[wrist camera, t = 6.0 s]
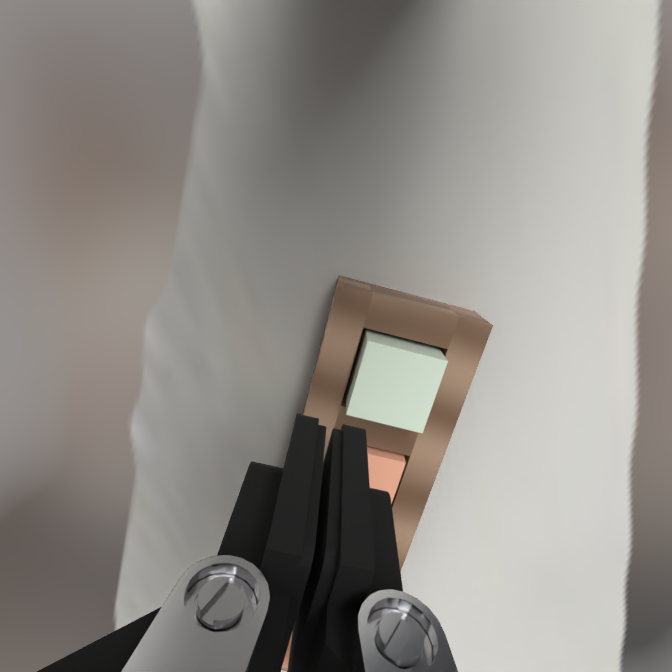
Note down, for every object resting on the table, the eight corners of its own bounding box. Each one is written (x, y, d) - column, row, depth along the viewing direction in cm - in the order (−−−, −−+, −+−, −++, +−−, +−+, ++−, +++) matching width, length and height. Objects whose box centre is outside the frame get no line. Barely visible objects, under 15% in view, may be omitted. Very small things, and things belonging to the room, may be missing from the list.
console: (339, 275, 30) (337, 286, 26) (474, 311, 31) (495, 327, 26) (249, 616, 39) (237, 667, 35) (356, 639, 39) (357, 692, 35)
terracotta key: (335, 423, 32) (334, 445, 29) (400, 438, 32) (405, 462, 29) (319, 479, 33) (316, 506, 30) (381, 493, 34) (384, 522, 30)
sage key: (365, 326, 29) (367, 340, 25) (437, 345, 29) (448, 361, 26) (346, 393, 30) (346, 414, 27) (414, 411, 30) (422, 433, 27)
